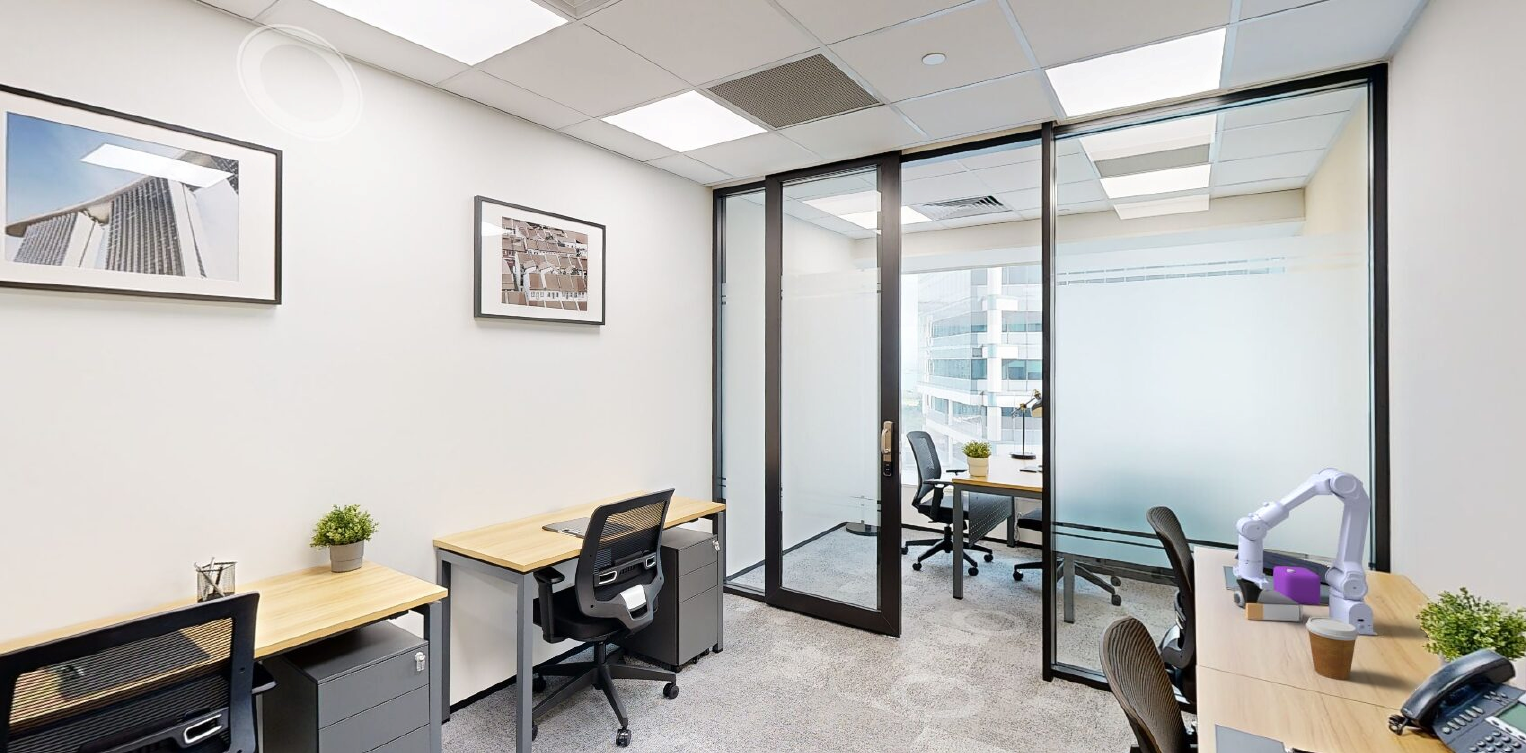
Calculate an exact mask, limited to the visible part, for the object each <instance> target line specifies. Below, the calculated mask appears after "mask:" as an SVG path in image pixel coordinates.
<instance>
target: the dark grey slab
mask: <svg viewBox="0 0 1526 753" xmlns="http://www.w3.org/2000/svg"><path fill="white" fill-rule="evenodd" d="M1234 559H1236V560H1238V553H1237V554H1236V555H1235V557H1234ZM1276 566H1287V567H1301V568H1306V569H1308V570H1310V571H1311V572H1313V573H1315V574H1316V575H1318V576H1319V577H1320V583H1325V584H1328V583H1327V582H1326V579H1325V574H1326V572H1327V571H1328V570H1329V568H1330V567H1327V566H1328V565H1326V564H1324V563H1321V562H1320V563H1319V562H1315V561H1311V560H1307V559H1303V558H1299V557H1295V556H1291V555H1285V554H1282V553H1278V552H1272V551H1268V550H1263V568H1266V569H1270V570H1274V567H1276Z"/></svg>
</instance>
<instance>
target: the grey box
mask: <svg viewBox="0 0 1526 753" xmlns="http://www.w3.org/2000/svg"><path fill="white" fill-rule="evenodd" d="M1233 602H1234V603H1235V605H1236V606H1238V607H1241V608H1243V609H1244V610H1246V605H1245V602H1244V598H1243V594H1242V591H1241V589H1240V587H1239V585H1234V586H1233ZM1257 603H1259V604H1284V605H1298V606H1299V621H1298V622H1303V620H1304V607H1303V605H1302V604H1300V603H1297V602H1295V601H1293V600H1292V599H1290V598H1288V597H1286V596H1284V595H1283V594H1281V593H1279V592H1277V591H1275V590H1274V588H1272V587H1270V586H1269V589H1263V590H1262V592H1261V593H1260V595H1259V597H1258V600H1257Z"/></svg>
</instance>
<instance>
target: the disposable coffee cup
mask: <svg viewBox="0 0 1526 753" xmlns="http://www.w3.org/2000/svg"><path fill="white" fill-rule="evenodd" d="M1305 627H1306V629H1307V630H1308V636H1309V637H1308V638H1309V642H1310V649H1311V656H1312V661H1313V662H1312V663H1313V667H1314V668H1313V669H1314V671H1315V672H1316V673H1317V674H1318V675H1321V676H1323V677H1327V678H1329V679H1333V680H1339V681H1340V680H1342V681H1343V680H1349V679H1350V675H1351V668H1352V663H1353V658H1354V652H1355V647H1356V646H1355V645H1356V642H1357V641H1356V640H1357V639H1358V637H1359V635H1360V634H1358V632H1357V631H1356V628H1355V627H1354V626H1353V625H1351V624H1349V623H1347V622H1343V621H1340V620H1336V619H1331V618H1329V617H1322V616H1313V617H1309V618H1308V620H1307V622H1306V623H1305Z"/></svg>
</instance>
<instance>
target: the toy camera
mask: <svg viewBox="0 0 1526 753" xmlns="http://www.w3.org/2000/svg"><path fill="white" fill-rule="evenodd" d="M1272 572H1273V574H1272V578H1273V580H1272V581H1273V582H1272V584H1273V588H1272V589H1274V590H1275V591H1277V592H1279V593H1281V594H1283V595H1284V596H1286V597H1288V598H1290V599H1292V600H1293V601H1295V602H1297V603H1299V605H1302V604H1303V605H1318V604H1320V603H1321V582H1320V577H1319V576H1318V575H1316V574H1315V573H1313V572H1311V571H1310V570H1308V569H1306V568H1301V567H1287V566H1276V567H1274V569H1273V571H1272Z"/></svg>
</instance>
